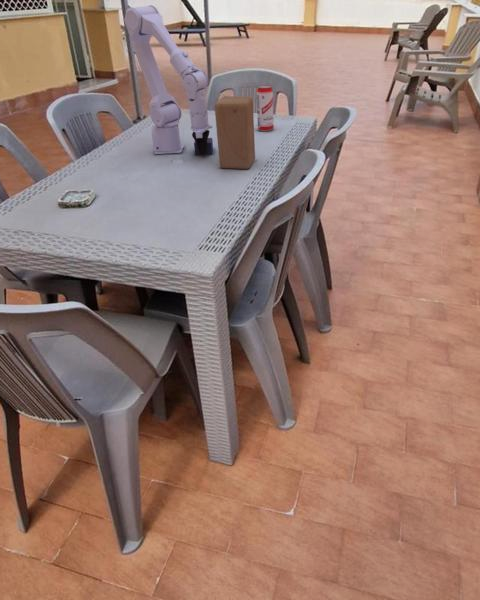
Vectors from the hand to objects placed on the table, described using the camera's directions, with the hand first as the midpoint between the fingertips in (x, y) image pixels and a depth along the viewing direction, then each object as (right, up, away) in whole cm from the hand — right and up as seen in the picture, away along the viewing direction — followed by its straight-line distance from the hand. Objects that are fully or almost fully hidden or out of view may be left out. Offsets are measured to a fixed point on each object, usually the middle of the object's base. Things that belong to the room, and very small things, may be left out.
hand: (203, 153), depth 158 cm
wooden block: (+12, -6, -7) cm, 15 cm away
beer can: (+22, +17, +25) cm, 37 cm away
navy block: (0, +2, +5) cm, 5 cm away
